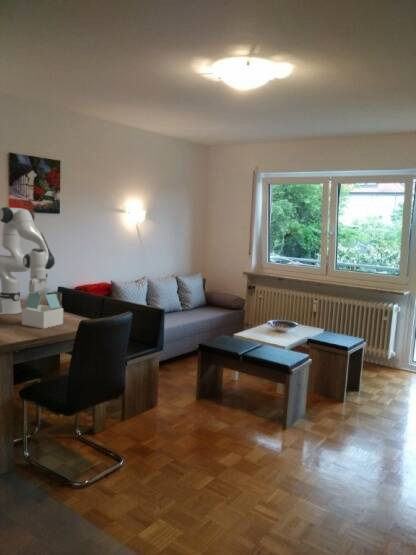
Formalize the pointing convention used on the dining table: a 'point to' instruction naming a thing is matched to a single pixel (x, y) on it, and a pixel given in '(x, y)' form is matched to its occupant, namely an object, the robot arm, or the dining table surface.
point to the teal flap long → (33, 300)
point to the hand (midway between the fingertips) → (37, 297)
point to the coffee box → (59, 297)
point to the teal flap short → (52, 301)
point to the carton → (42, 316)
